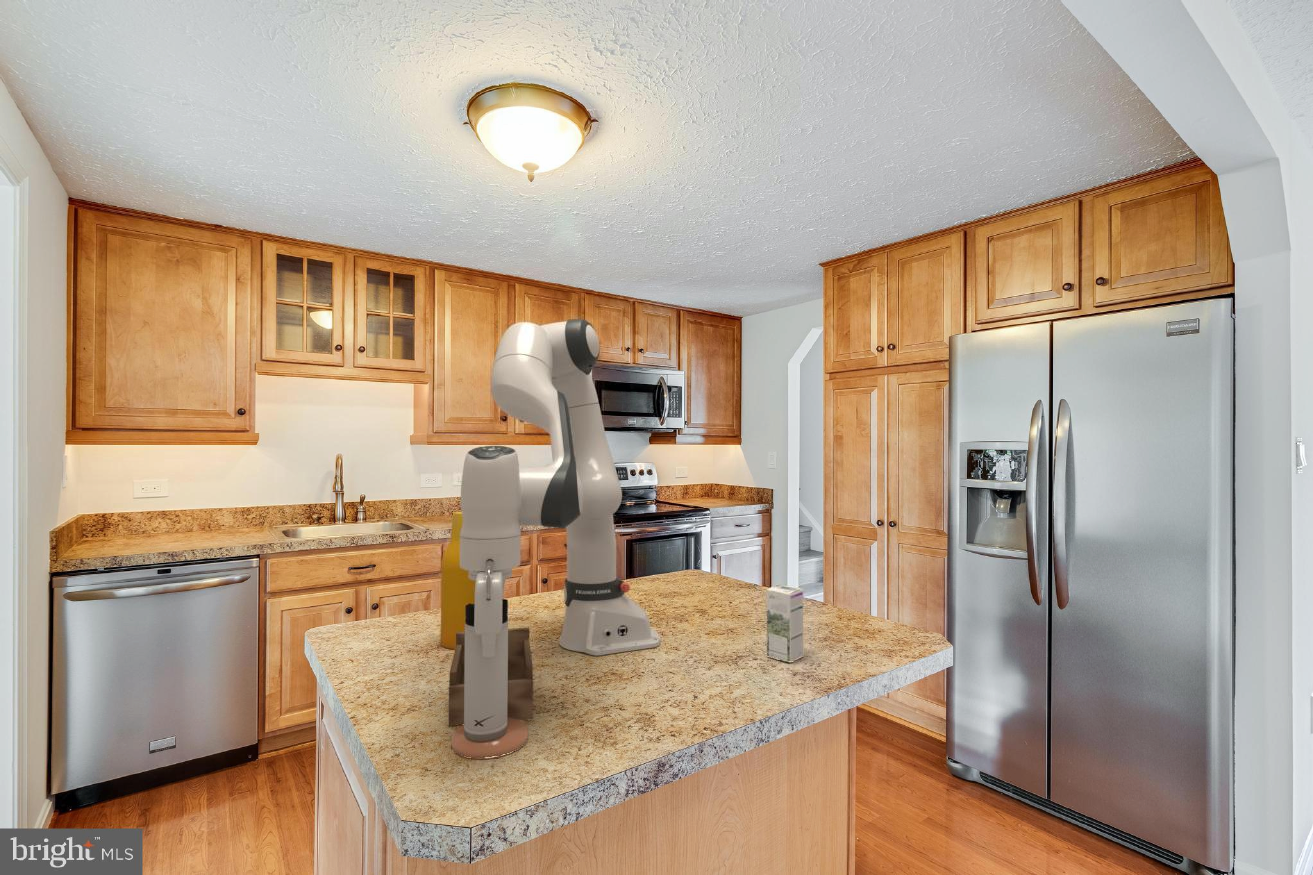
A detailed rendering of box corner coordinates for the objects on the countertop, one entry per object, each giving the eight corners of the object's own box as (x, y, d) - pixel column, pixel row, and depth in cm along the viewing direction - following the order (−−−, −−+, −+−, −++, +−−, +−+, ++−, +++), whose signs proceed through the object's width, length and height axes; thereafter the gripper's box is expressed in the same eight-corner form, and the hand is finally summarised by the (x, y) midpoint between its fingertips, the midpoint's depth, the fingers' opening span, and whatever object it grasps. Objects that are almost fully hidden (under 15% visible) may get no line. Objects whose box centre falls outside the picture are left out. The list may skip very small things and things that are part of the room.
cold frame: (528, 681, 117) (529, 627, 117) (532, 717, 101) (533, 655, 101) (456, 687, 114) (456, 632, 114) (448, 726, 98) (449, 662, 98)
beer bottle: (450, 652, 132) (451, 515, 132) (433, 642, 139) (434, 512, 139) (491, 643, 138) (492, 512, 139) (472, 634, 145) (473, 509, 146)
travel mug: (483, 747, 89) (484, 606, 89) (455, 734, 93) (456, 599, 93) (517, 731, 94) (518, 598, 94) (489, 719, 98) (490, 591, 98)
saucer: (526, 720, 100) (526, 713, 100) (529, 754, 89) (529, 745, 89) (454, 728, 97) (454, 720, 97) (448, 763, 87) (448, 754, 87)
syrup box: (804, 657, 130) (804, 587, 131) (789, 664, 126) (789, 592, 126) (780, 651, 134) (780, 583, 134) (765, 657, 130) (765, 588, 130)
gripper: (512, 567, 84) (511, 669, 84) (511, 543, 104) (510, 626, 104) (464, 568, 83) (462, 673, 83) (472, 544, 103) (471, 628, 102)
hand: (489, 646), depth 93 cm, fingers open, 6 cm apart
